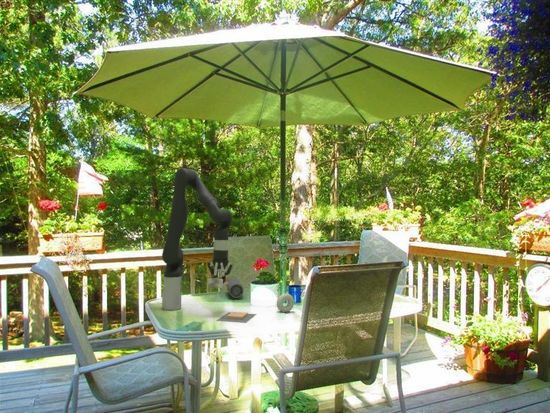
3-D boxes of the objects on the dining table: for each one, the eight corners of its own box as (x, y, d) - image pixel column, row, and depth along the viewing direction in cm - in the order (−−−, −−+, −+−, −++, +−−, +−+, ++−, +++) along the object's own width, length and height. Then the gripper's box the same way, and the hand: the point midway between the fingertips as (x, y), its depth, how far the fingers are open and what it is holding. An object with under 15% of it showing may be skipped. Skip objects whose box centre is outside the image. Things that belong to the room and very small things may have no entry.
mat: (215, 321, 222) (215, 320, 222) (228, 313, 240) (228, 312, 240) (245, 324, 219) (245, 322, 219) (256, 315, 236) (256, 314, 236)
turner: (208, 286, 229) (208, 278, 229) (218, 282, 244) (219, 275, 244) (221, 288, 228) (222, 279, 228) (231, 283, 243) (232, 276, 243)
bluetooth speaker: (225, 293, 295) (225, 277, 295) (240, 292, 297) (240, 276, 297) (228, 300, 273) (228, 283, 273) (244, 299, 274) (244, 282, 274)
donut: (291, 310, 247) (291, 292, 247) (295, 312, 244) (295, 293, 244) (275, 312, 242) (275, 293, 242) (278, 314, 239) (278, 294, 239)
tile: (232, 314, 235) (226, 318, 226) (232, 311, 235) (226, 315, 226) (247, 315, 233) (242, 319, 224) (247, 312, 233) (242, 316, 224)
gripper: (205, 248, 233) (203, 283, 233) (231, 250, 230) (230, 285, 230) (210, 247, 240) (209, 280, 241) (236, 248, 237) (235, 282, 237)
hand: (219, 282), depth 235 cm, fingers closed on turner, 3 cm apart
